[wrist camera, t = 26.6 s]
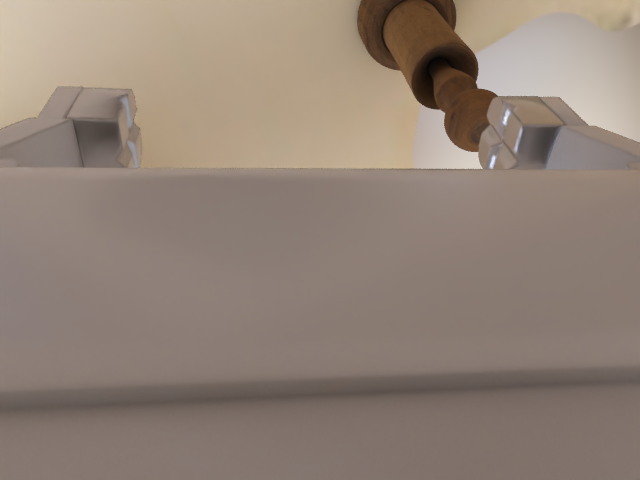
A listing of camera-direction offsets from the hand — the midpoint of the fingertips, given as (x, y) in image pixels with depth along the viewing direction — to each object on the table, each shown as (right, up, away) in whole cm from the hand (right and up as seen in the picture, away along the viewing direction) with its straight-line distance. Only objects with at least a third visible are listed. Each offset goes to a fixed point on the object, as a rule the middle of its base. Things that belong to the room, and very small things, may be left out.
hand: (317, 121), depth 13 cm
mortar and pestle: (+6, +14, +28) cm, 31 cm away
